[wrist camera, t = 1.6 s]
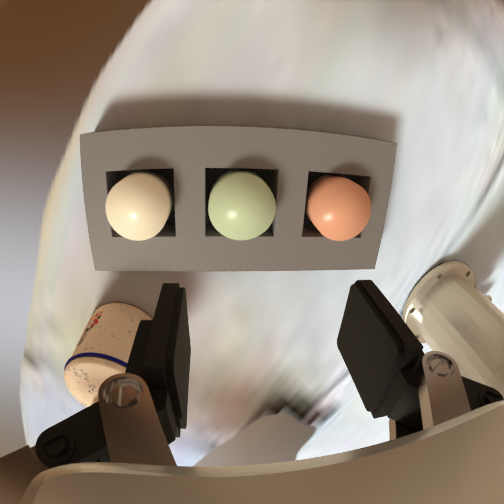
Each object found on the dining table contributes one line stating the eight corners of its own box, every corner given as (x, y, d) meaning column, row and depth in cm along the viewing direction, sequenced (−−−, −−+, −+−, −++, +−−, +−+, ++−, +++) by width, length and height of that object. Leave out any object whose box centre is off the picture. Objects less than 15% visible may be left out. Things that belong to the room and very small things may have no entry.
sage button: (271, 169, 24) (278, 176, 22) (267, 226, 26) (273, 240, 24) (209, 168, 24) (208, 175, 21) (209, 226, 26) (208, 240, 23)
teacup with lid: (91, 288, 29) (49, 365, 18) (171, 313, 31) (156, 400, 21) (87, 361, 33) (61, 433, 23) (152, 381, 36) (141, 457, 25)
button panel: (380, 139, 25) (396, 143, 23) (362, 255, 30) (374, 268, 28) (93, 131, 22) (79, 134, 20) (105, 255, 28) (95, 270, 25)
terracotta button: (360, 176, 25) (375, 183, 23) (352, 228, 27) (365, 241, 25) (306, 171, 25) (317, 179, 22) (301, 227, 27) (310, 240, 24)
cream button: (172, 168, 23) (166, 176, 21) (174, 226, 26) (169, 240, 23) (115, 171, 23) (102, 178, 20) (119, 227, 25) (109, 240, 22)
